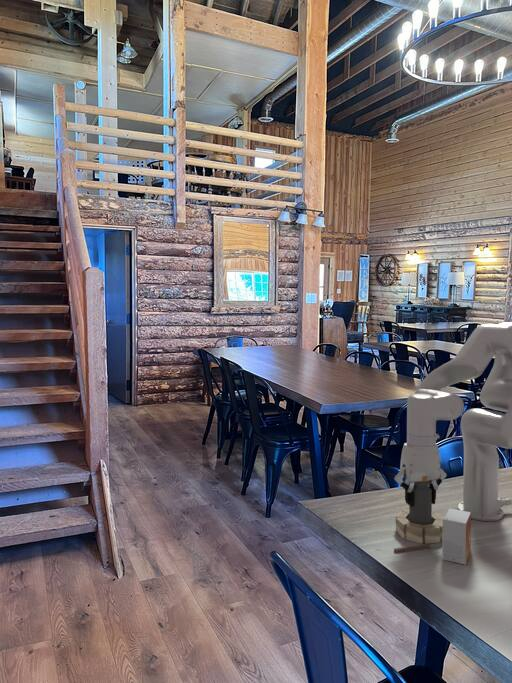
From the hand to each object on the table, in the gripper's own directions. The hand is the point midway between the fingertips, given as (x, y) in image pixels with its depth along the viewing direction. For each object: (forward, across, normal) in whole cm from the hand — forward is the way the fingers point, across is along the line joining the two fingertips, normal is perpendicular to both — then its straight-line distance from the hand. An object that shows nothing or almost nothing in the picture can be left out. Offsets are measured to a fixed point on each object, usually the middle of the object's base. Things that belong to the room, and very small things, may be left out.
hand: (420, 502), depth 139 cm
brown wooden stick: (+9, +7, +8) cm, 14 cm away
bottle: (+7, 0, 0) cm, 7 cm away
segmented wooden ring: (+9, 0, 0) cm, 9 cm away
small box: (+9, -2, +14) cm, 16 cm away
